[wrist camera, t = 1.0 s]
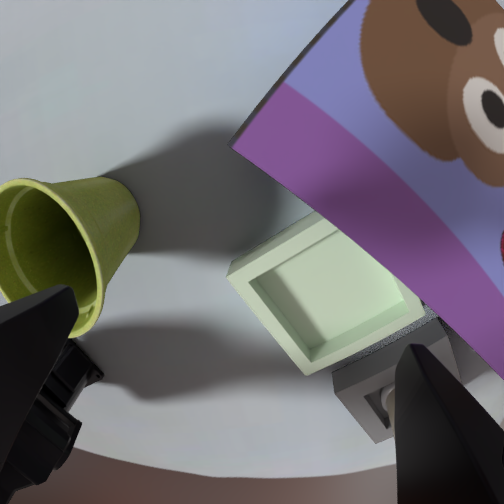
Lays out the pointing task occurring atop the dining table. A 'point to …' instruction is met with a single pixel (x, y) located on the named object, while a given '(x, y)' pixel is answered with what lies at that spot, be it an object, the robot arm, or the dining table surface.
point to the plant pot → (65, 239)
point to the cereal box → (402, 148)
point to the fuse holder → (386, 377)
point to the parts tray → (321, 293)
